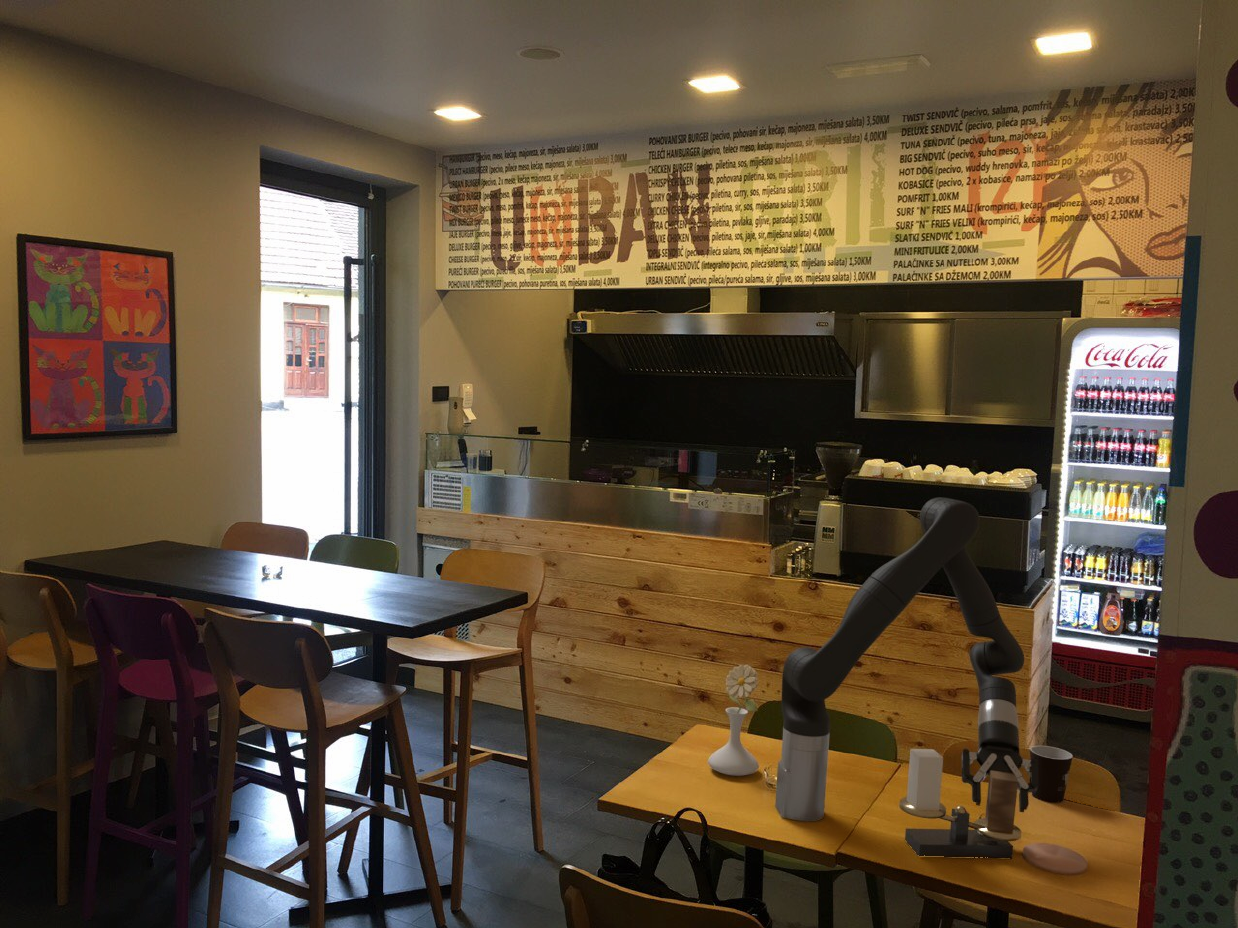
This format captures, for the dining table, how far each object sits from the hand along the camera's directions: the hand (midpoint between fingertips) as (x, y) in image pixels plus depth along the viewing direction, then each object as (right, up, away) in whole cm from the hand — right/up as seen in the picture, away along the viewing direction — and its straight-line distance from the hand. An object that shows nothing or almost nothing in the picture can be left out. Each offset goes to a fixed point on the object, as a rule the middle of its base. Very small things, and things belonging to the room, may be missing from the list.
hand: (1000, 806), depth 188 cm
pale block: (-15, 0, 0) cm, 15 cm away
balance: (-8, -9, +1) cm, 12 cm away
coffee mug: (+24, -9, +32) cm, 41 cm away
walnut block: (0, -4, +2) cm, 5 cm away
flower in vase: (-46, -5, +36) cm, 58 cm away
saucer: (+10, -10, -1) cm, 14 cm away
